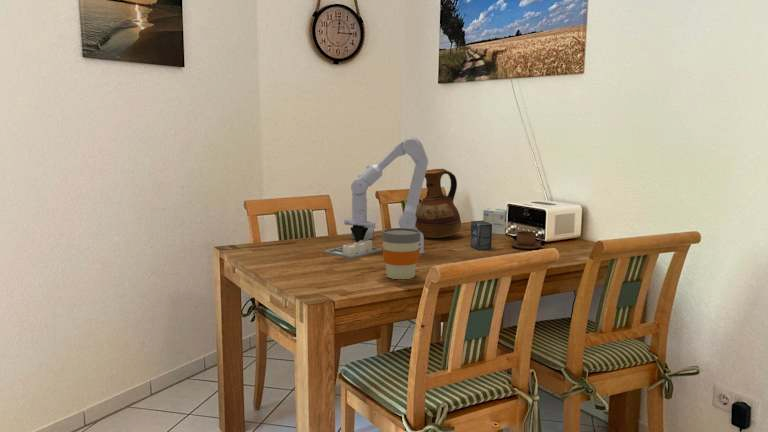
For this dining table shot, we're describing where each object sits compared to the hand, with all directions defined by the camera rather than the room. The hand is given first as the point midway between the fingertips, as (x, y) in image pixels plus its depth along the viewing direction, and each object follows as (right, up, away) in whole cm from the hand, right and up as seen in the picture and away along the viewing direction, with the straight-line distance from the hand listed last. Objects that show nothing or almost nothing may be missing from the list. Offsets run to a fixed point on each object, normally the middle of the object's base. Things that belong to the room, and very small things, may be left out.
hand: (359, 244), depth 231 cm
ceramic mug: (0, 0, +22) cm, 22 cm away
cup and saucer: (+67, -2, +10) cm, 67 cm away
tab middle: (0, -3, -7) cm, 8 cm away
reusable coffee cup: (+15, -9, -37) cm, 40 cm away
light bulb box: (+61, +3, +41) cm, 73 cm away
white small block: (+3, -2, -2) cm, 4 cm away
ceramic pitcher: (+33, +2, +32) cm, 46 cm away
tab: (-3, -3, -11) cm, 12 cm away
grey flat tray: (-2, -3, -5) cm, 6 cm away
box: (+48, -2, +8) cm, 49 cm away
